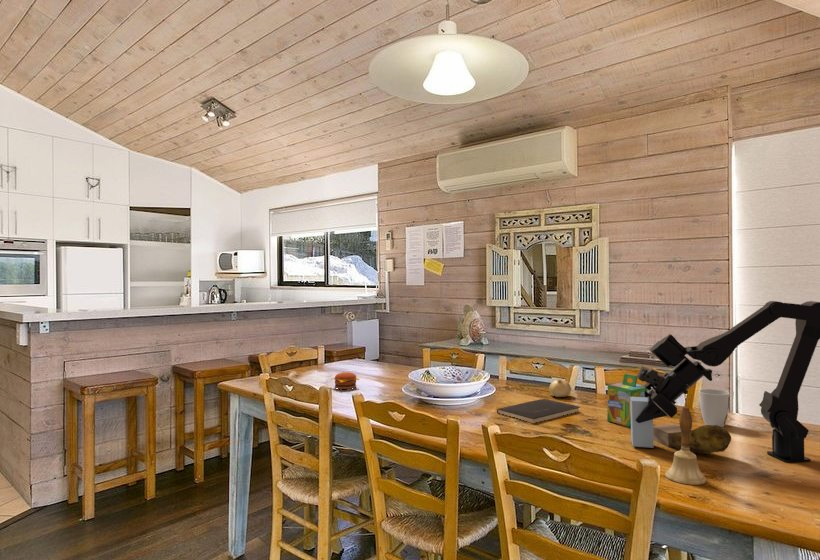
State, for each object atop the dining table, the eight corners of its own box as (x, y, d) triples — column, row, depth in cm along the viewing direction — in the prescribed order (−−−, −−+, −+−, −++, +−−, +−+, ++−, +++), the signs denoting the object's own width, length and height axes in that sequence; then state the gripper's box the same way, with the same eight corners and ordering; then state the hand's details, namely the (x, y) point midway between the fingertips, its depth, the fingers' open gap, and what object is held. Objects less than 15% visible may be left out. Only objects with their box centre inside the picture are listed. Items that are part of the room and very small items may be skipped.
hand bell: (692, 470, 122) (691, 402, 122) (715, 484, 114) (713, 411, 114) (657, 471, 122) (656, 403, 122) (677, 485, 113) (676, 412, 113)
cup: (734, 429, 153) (734, 395, 153) (704, 428, 155) (704, 394, 155) (724, 421, 161) (723, 389, 161) (695, 420, 163) (694, 388, 163)
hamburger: (342, 391, 214) (342, 375, 214) (330, 388, 221) (329, 372, 221) (361, 388, 220) (361, 372, 220) (349, 384, 227) (348, 369, 227)
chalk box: (606, 421, 164) (605, 374, 164) (625, 417, 168) (625, 371, 168) (632, 428, 156) (631, 379, 156) (651, 424, 160) (651, 375, 160)
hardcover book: (580, 413, 176) (579, 406, 176) (533, 425, 163) (533, 418, 163) (542, 404, 189) (542, 398, 189) (496, 415, 176) (496, 408, 176)
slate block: (651, 442, 141) (650, 397, 141) (653, 447, 137) (652, 401, 136) (631, 440, 143) (630, 396, 143) (632, 446, 138) (631, 400, 138)
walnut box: (691, 446, 140) (691, 431, 140) (668, 448, 139) (668, 433, 139) (674, 438, 147) (674, 424, 147) (651, 440, 146) (651, 425, 146)
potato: (689, 444, 140) (688, 415, 140) (737, 459, 129) (736, 427, 129) (668, 449, 137) (667, 419, 137) (715, 465, 125) (714, 431, 125)
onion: (545, 395, 202) (545, 376, 202) (565, 393, 203) (564, 375, 203) (555, 399, 194) (554, 380, 194) (575, 398, 195) (574, 379, 195)
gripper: (651, 352, 147) (610, 389, 151) (661, 362, 130) (614, 404, 133) (683, 381, 145) (641, 418, 148) (697, 395, 127) (649, 438, 131)
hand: (635, 419), depth 140 cm, fingers closed on slate block, 5 cm apart
